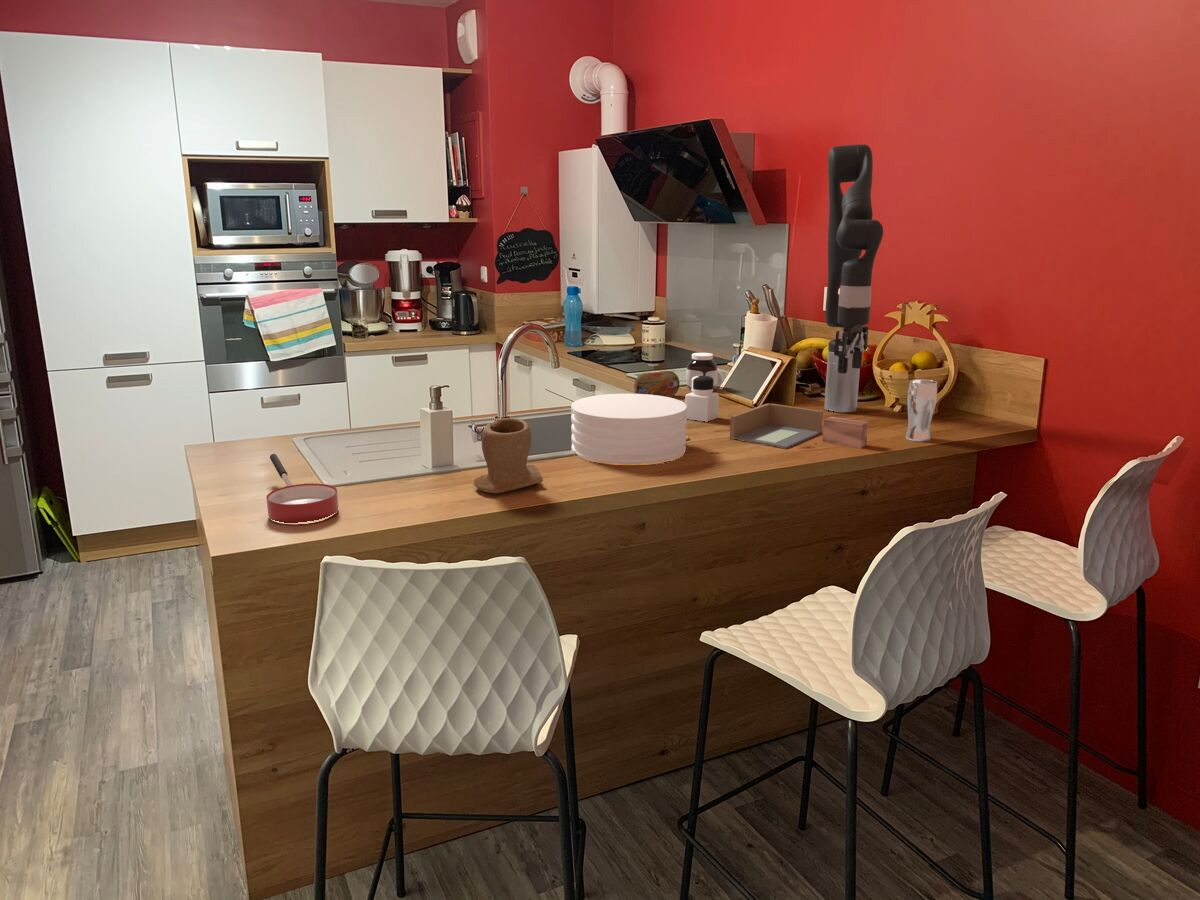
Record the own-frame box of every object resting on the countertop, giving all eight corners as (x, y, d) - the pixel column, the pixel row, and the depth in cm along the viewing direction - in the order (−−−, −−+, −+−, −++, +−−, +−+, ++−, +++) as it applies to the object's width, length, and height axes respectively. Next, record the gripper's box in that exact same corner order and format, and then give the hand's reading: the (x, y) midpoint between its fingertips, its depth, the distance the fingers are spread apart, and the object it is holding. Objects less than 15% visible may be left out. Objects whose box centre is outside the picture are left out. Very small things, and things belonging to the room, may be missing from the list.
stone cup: (494, 502, 182) (492, 430, 178) (466, 487, 191) (464, 419, 187) (557, 488, 191) (556, 420, 187) (527, 475, 200) (526, 409, 196)
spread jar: (685, 391, 290) (685, 355, 287) (687, 384, 301) (688, 350, 298) (722, 392, 288) (723, 356, 285) (723, 386, 299) (724, 351, 296)
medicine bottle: (718, 417, 254) (719, 375, 251) (707, 422, 248) (708, 379, 245) (695, 414, 258) (696, 373, 255) (684, 419, 252) (685, 377, 249)
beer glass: (928, 435, 234) (934, 379, 230) (935, 442, 227) (941, 384, 223) (901, 435, 235) (906, 378, 231) (907, 442, 228) (912, 383, 224)
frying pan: (232, 489, 191) (229, 460, 189) (294, 478, 198) (291, 450, 197) (281, 531, 166) (277, 498, 164) (349, 517, 173) (346, 485, 172)
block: (829, 439, 231) (830, 416, 230) (866, 445, 225) (868, 422, 224) (822, 442, 228) (823, 419, 227) (860, 448, 222) (861, 425, 221)
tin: (637, 401, 276) (637, 374, 274) (632, 399, 279) (632, 372, 277) (679, 396, 282) (680, 370, 280) (674, 395, 285) (675, 368, 283)
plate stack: (637, 431, 239) (637, 389, 236) (709, 454, 218) (711, 407, 215) (549, 447, 223) (548, 402, 220) (618, 473, 202) (618, 424, 199)
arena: (767, 424, 246) (768, 403, 245) (821, 433, 237) (822, 411, 235) (729, 438, 231) (730, 416, 229) (786, 448, 221) (787, 425, 220)
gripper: (851, 301, 225) (847, 365, 229) (827, 305, 214) (822, 372, 219) (880, 303, 221) (875, 368, 225) (857, 308, 210) (852, 376, 214)
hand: (849, 370), depth 222 cm, fingers open, 8 cm apart
